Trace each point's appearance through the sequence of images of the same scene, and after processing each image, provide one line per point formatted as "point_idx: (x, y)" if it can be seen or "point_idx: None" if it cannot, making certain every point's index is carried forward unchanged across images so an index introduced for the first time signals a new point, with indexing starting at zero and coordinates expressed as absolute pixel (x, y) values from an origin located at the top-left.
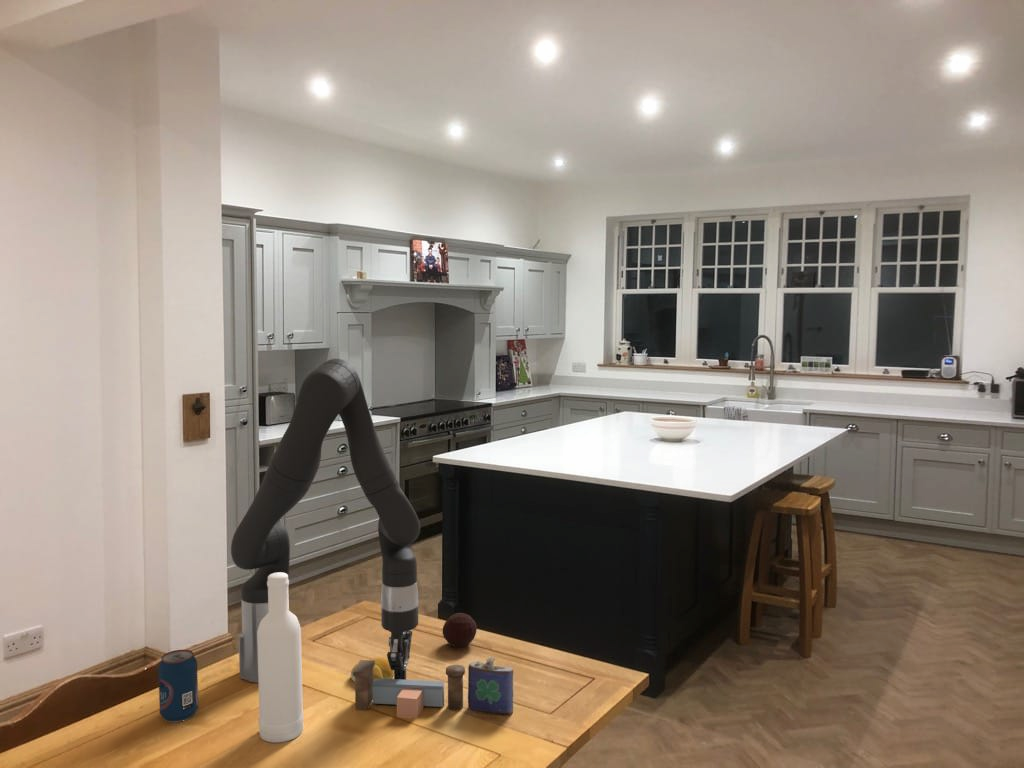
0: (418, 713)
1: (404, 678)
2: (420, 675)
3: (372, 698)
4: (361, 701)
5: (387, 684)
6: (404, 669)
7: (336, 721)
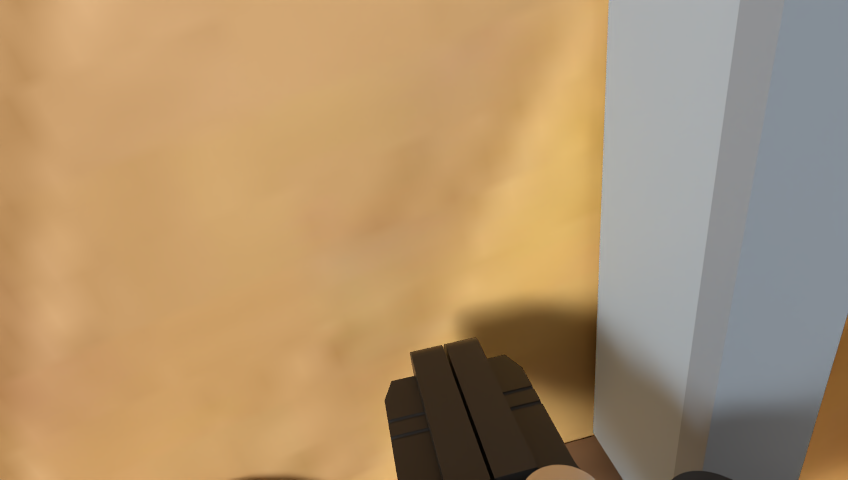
0: None
1: (498, 388)
2: (41, 322)
3: (587, 448)
4: None
5: (799, 451)
6: (585, 472)
7: (817, 470)
